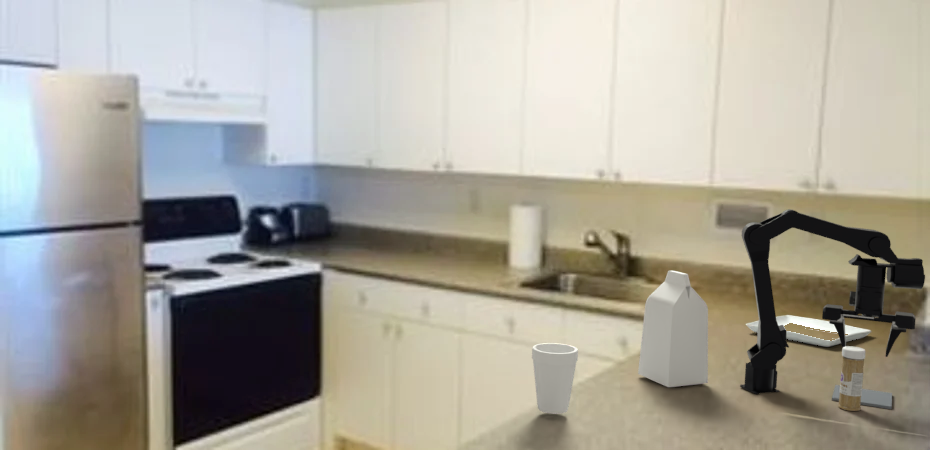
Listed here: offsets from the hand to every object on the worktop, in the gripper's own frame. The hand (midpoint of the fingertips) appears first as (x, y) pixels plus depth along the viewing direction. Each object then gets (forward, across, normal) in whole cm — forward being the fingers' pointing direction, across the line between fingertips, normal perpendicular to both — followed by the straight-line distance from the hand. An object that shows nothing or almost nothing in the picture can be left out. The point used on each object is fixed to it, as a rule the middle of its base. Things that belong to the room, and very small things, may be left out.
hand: (865, 353), depth 188 cm
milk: (+11, +41, +8) cm, 43 cm away
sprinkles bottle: (+10, +2, +11) cm, 15 cm away
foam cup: (+11, +57, +46) cm, 74 cm away
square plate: (+11, +17, -63) cm, 66 cm away
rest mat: (+10, 0, 0) cm, 10 cm away
